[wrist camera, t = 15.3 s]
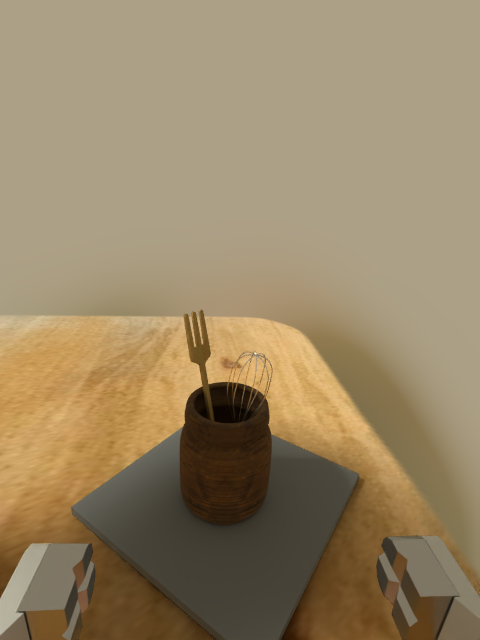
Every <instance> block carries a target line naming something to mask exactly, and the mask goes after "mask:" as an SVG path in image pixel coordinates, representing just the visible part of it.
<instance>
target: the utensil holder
mask: <svg viewBox="0 0 480 640" xmlns="http://www.w3.org/2000/svg"><path fill="white" fill-rule="evenodd" d="M191 316H192V322H193V329H194V336H195V343H196V347H194V343H193V337H192V332H191V327H190V322H189V316H188V314H184V322H185V329H186V335H187V342H188V349H189V355H190V360H191V362H194V363H197V364H198V365H199V368H200V373H201V379H202V385H203V387H200V388H199V389H197V390H195V391H194V392H193V393H192V394H191V395H190V397H189V398H188V400H187V404H186V409H185V424H184V426H183V428H182V432H181V436H180V486H181V493H182V497H183V500H184V502H185V504H186V506H187V507H188V508H189V510H190V511H191V512H192V513H193V514H194V515H196V516H197V517H199V518H200V519H202V520H204V521H207V522H210V523H214V524H222V525H226V524H234V523H238V522H241V521H244V520H246V519H248V518H250V517H251V516H252V515H254V514H255V513H256V512H257V511H258V510H259V509H260V507H261V506H262V504H263V502H264V500H265V498H266V494H267V490H268V484H269V476H270V466H271V454H272V437H271V431H270V428H269V426H268V424H269V407H268V402H267V400H266V398H265V397H266V395H267V393H268V391H267V393H266V390H267V386H266V390H265V394H266V395H265V394H264V396H263V394H261V393H260V392H259V391H258V390H256V389H254V388H253V387H250V386H247V385H246V381H245V385H244V384H240V383H238V380H239V377H240V374H241V372H242V370H243V368H244V366H245V365H246V364H247V362H248V361H249V360H250V359H252V358H253V357H254V356H256V370H257V356H258V357H259V356H261V355H258V354H255V353H256V351H254V352H255V353H254V352H250V353H253V354H248V355H252V356H253V355H254V356H253V357H251V358H250V359H249V360H248V361H247V362H246V364H245V365H244V366H243V368H242V370H241V372H240V374H239V377H238V380H237V383H233V382H229V381H228V382H219V383H213V384H208V379H207V373H206V367H205V363H206V361H207V360H208V358H209V357H210V354H211V352H210V346H209V341H208V335H207V330H206V324H205V319H204V313H203V311H202V310H199V318H200V325H201V332H202V339H203V345H202V343H201V338H200V333H199V327H198V322H197V317H196V313H195V312H192V313H191ZM244 353H247V352H244ZM244 353H242V354H244ZM242 354H241V355H242ZM259 354H262V353H259ZM241 355H240V356H241ZM263 355H264V354H263ZM240 356H239V358H238V360H239V359H240V358H242V357H244V356H247V355H244V356H242V357H240ZM261 357H264V358H265V355H264V356H261ZM259 358H260V357H259ZM260 359H261V358H260ZM266 359H267V358H265V363H266ZM238 360H237V361H236V362H237V363H238ZM261 360H262V359H261ZM267 360H268V359H267ZM262 361H263V360H262ZM268 361H269V360H268ZM236 362H235V363H236ZM235 363H234V365H235ZM250 363H251V360H250ZM263 363H264V361H263ZM265 363H264V364H265ZM269 363H270V361H269ZM234 365H233V366H234ZM270 365H271V363H270ZM265 366H266V364H265V365H264V368H265ZM236 367H237V364H236ZM249 367H250V364H249ZM271 368H272V365H271ZM232 369H233V367H232ZM266 369H267V367H266ZM235 371H236V368H235ZM248 371H249V368H248ZM263 372H264V369H263ZM231 373H232V370H231ZM231 373H230V376H231ZM272 373H273V368H272ZM267 374H268V370H267ZM234 375H235V372H234ZM247 375H248V372H247ZM262 376H263V373H262ZM255 377H256V371H255ZM271 378H272V374H271ZM268 379H269V375H268ZM229 380H230V377H229ZM246 380H247V376H246ZM261 380H262V377H261ZM233 381H234V376H233ZM254 382H255V378H254ZM260 383H261V381H260ZM270 383H271V379H270ZM270 383H269V387H270ZM267 385H268V381H267ZM253 386H254V383H253ZM259 386H260V384H259ZM269 387H268V390H269ZM258 389H259V387H258Z"/></svg>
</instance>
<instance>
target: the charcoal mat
mask: <svg viewBox="0 0 480 640" xmlns="http://www.w3.org/2000/svg"><path fill="white" fill-rule="evenodd" d="M182 428H183V427H182ZM182 428H181V429H179V430H178V431H177V432H175V433H174V434H172V435H171V436H170V437H168V438H167V439H165V440H164V441H163V442H161V443H160V444H158V445H157V446H156V447H154V448H153V449H152V450H150V451H149V452H147V453H146V454H145V455H143V456H142V457H140V458H139V459H138V460H136V461H135V462H133V463H132V464H131V465H129V466H128V467H126V468H125V469H124V470H122V471H121V472H119V473H118V474H117V475H115V476H114V477H113V478H111V479H110V480H108V481H107V482H106V483H104V484H103V485H101V486H100V487H99V488H97V489H96V490H94V491H93V492H92V493H90V494H89V495H87V496H86V497H85V498H83V499H82V500H80V501H79V502H78V503H76V504H75V505H74V506H72V507H71V509H72V514H73V515H74V516H75V517H76V518H77V519H78V520H79V521H81V522H82V523H83V524H84V525H85V526H86V527H87V528H89V529H90V530H91V531H92V532H93V533H94V534H96V535H97V536H98V537H99V538H100V539H101V540H102V541H104V542H105V543H106V544H107V545H108V546H109V547H110V548H112V549H113V550H114V551H115V552H116V553H117V554H119V555H120V556H121V557H122V558H123V559H124V560H125V561H127V562H128V563H129V564H130V565H131V566H132V567H133V568H135V569H136V570H137V571H138V572H139V573H140V574H142V575H143V576H144V577H145V578H146V579H147V580H148V581H150V582H151V583H152V584H153V585H154V586H155V587H156V588H158V589H159V590H160V591H161V592H162V593H163V594H165V595H166V596H167V597H168V598H169V599H170V600H171V601H173V602H174V603H175V604H176V605H177V606H178V607H179V608H181V609H182V610H183V611H184V612H185V613H186V614H187V615H189V616H190V617H191V618H192V619H193V620H194V621H196V622H197V623H198V624H199V625H200V626H201V627H202V628H204V629H205V630H206V631H207V632H208V633H209V634H210V635H212V636H213V637H214V638H215V639H216V640H281V638H282V636H283V634H284V632H285V630H286V628H287V626H288V624H289V622H290V620H291V618H292V616H293V614H294V612H295V610H296V607H297V605H298V603H299V601H300V599H301V597H302V595H303V593H304V591H305V589H306V587H307V585H308V583H309V581H310V579H311V577H312V574H313V572H314V570H315V568H316V566H317V564H318V562H319V560H320V558H321V556H322V554H323V552H324V550H325V548H326V546H327V544H328V541H329V539H330V537H331V535H332V533H333V531H334V529H335V527H336V525H337V523H338V521H339V519H340V517H341V515H342V513H343V511H344V508H345V506H346V504H347V502H348V500H349V498H350V496H351V494H352V492H353V490H354V488H355V486H356V484H357V482H358V478H359V474H358V473H356V472H354V471H351V470H349V469H347V468H345V467H342V466H340V465H338V464H336V463H334V462H331V461H329V460H327V459H325V458H322V457H320V456H318V455H316V454H314V453H311V452H309V451H307V450H305V449H302V448H300V447H298V446H296V445H293V444H291V443H289V442H287V441H285V440H282V439H280V438H278V437H276V436H273V435H271V437H272V454H271V466H270V476H269V484H268V490H267V494H266V498H265V500H264V502H263V504H262V506H261V507H260V509H259V510H258V511H257V512H256V513H255V514H254V515H252V516H251V517H250V518H248V519H246V520H244V521H241V522H238V523H234V524H226V525H222V524H214V523H210V522H207V521H204V520H202V519H200V518H199V517H197V516H196V515H194V514H193V513H192V512H191V511H190V510H189V508H188V507H187V506H186V504H185V502H184V500H183V497H182V493H181V486H180V436H181V432H182Z"/></svg>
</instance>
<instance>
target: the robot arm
mask: <svg viewBox="0 0 480 640" xmlns="http://www.w3.org/2000/svg"><path fill="white" fill-rule="evenodd" d="M382 548H383V550H384V553H383V554H381V555H380V556H379V557H378V561H377V577H378V581H379V584H380V587H381V590H382V592H383V595H384V596H385V597H386V598H387V599H388V600H389V601H390V602H391V603H392V604H393V609H392V616H393V619H394V621H395V623H396V626H397V628H398V630H399V633H400V635H401V638H402V640H480V596H479V595H478V593H477V592H476V590H475V589H474V587H473V586H472V584H471V583H470V581H469V580H468V578H467V577H466V575H465V574H464V572H463V571H462V569H461V568H460V566H459V565H458V563H457V561H456V560H455V558H454V557H453V555H452V554H451V552H450V551H449V549H448V548H447V546H446V545H445V543H444V542H443V540H442V539H441V538H440V537H438V536H394V537H386V538H385V539H384V540H383V543H382ZM92 554H93V548H92V544H73V543H40V544H31V545H30V546H29V547H28V548H27V549H26V550H25V552H24V554H23V556H22V558H21V560H20V562H19V564H18V566H17V568H16V570H15V571H14V573H13V575H12V577H11V579H10V581H9V583H8V585H7V587H6V589H5V591H4V593H3V594H2V596H1V598H0V640H79V637H80V634H81V630H82V627H83V626H82V618H81V614H82V613H83V612H84V611H85V610H86V609H87V608H88V607H89V603H90V600H91V596H92V592H93V587H94V581H95V564H94V563H93V562H91V561H90V560H91V557H92Z"/></svg>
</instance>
